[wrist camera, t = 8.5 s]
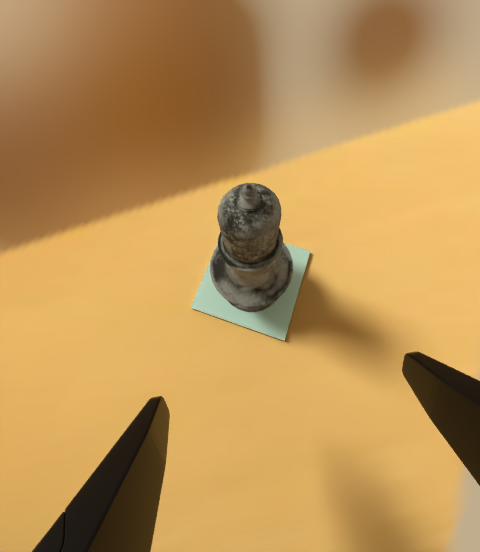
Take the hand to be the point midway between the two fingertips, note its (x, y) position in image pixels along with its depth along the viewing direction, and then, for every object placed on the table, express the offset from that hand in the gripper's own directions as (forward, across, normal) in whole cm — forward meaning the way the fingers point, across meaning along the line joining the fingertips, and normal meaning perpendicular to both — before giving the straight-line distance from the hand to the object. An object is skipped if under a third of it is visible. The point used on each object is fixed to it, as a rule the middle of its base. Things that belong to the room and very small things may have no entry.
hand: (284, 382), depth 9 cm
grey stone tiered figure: (+12, 0, +2) cm, 12 cm away
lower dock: (+12, 0, +2) cm, 12 cm away
